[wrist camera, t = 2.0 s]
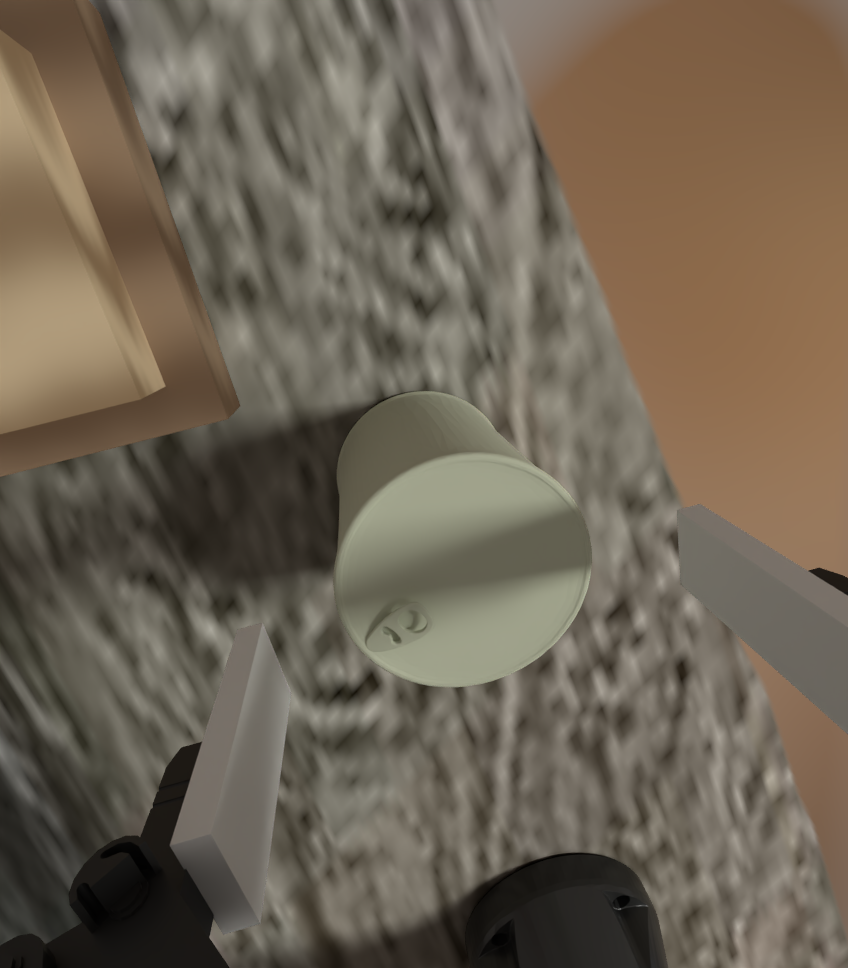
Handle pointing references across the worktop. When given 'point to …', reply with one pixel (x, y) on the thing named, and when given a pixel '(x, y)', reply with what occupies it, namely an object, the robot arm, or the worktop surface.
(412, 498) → the can
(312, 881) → the worktop surface
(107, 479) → the worktop surface
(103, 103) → the plinth
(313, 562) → the worktop surface
